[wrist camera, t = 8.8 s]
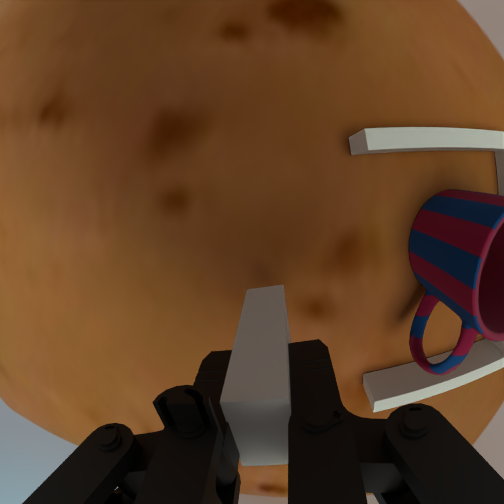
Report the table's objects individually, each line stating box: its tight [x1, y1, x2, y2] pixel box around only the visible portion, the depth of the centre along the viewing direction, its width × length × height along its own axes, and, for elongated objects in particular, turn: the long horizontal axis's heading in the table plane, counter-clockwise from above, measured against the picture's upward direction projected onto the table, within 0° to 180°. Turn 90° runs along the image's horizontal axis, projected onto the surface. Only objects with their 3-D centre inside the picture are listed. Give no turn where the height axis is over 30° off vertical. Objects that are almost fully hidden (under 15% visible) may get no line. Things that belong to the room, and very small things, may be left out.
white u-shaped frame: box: [348, 127, 504, 412], centre depth 14 cm, size 16×12×3 cm
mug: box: [409, 190, 504, 376], centre depth 12 cm, size 7×10×7 cm
